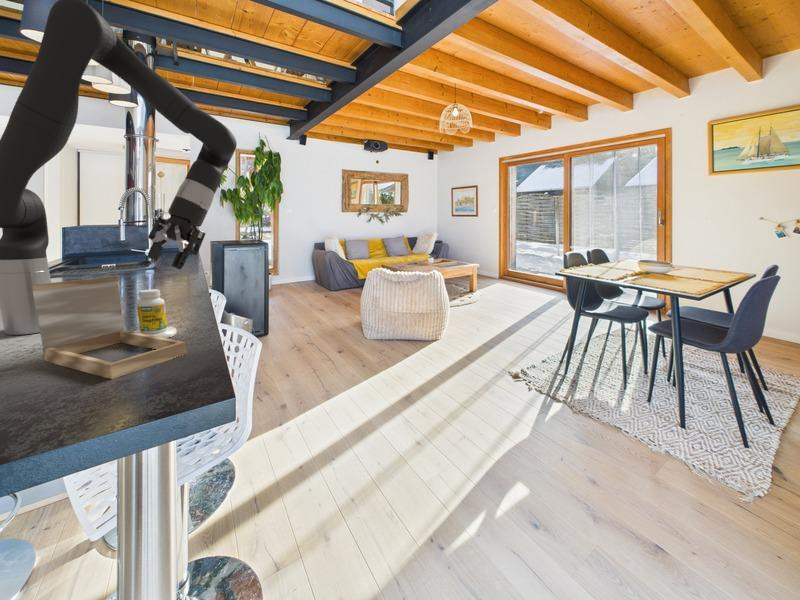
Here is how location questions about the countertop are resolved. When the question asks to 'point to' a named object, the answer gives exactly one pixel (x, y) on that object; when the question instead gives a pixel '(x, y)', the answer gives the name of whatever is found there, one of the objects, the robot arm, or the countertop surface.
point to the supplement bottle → (151, 312)
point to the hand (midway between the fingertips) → (163, 263)
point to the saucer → (168, 333)
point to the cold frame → (93, 328)
